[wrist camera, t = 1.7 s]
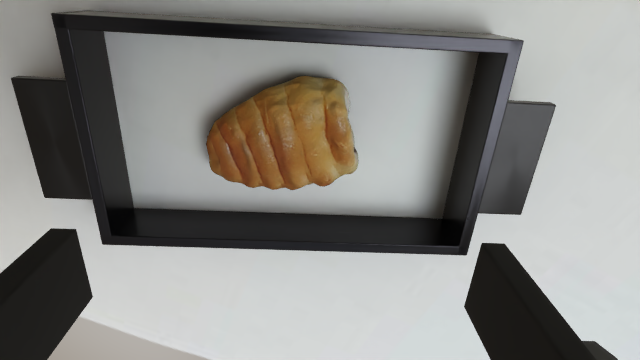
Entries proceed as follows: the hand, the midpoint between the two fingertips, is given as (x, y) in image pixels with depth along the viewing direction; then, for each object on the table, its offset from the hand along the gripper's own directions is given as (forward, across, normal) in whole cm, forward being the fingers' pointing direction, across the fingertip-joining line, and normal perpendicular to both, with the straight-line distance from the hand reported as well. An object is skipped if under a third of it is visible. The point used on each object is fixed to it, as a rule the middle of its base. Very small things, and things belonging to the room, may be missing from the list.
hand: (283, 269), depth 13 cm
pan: (+14, 0, 0) cm, 14 cm away
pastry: (+14, 0, 0) cm, 14 cm away
